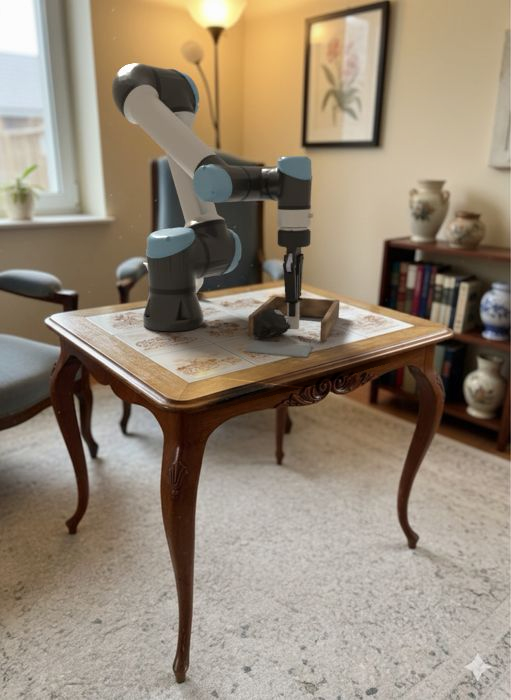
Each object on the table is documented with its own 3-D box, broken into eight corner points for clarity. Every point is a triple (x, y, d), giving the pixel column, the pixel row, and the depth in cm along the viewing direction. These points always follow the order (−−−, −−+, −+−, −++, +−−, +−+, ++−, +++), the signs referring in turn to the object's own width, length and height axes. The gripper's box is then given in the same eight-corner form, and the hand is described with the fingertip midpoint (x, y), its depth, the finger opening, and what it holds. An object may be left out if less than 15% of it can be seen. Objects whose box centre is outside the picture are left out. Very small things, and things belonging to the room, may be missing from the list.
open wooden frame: (248, 336, 128) (248, 316, 127) (272, 313, 150) (273, 295, 149) (325, 343, 123) (326, 322, 122) (338, 318, 145) (339, 300, 144)
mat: (243, 351, 117) (243, 350, 117) (253, 341, 124) (253, 340, 124) (306, 357, 113) (306, 356, 113) (313, 346, 121) (313, 345, 121)
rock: (241, 318, 121) (272, 290, 123) (244, 335, 131) (273, 309, 133) (265, 341, 119) (297, 312, 121) (266, 357, 129) (295, 329, 131)
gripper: (305, 231, 115) (303, 337, 122) (314, 225, 127) (312, 322, 134) (271, 231, 117) (271, 335, 124) (283, 225, 129) (283, 320, 136)
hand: (293, 328), depth 129 cm, fingers closed
